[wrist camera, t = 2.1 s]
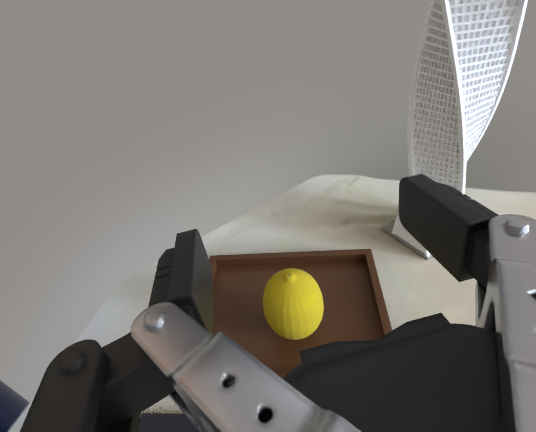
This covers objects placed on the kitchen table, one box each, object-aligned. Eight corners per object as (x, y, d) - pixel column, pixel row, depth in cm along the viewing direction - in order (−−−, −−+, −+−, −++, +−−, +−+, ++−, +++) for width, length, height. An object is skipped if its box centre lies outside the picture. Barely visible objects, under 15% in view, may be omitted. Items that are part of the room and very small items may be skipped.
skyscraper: (478, 241, 38) (589, -69, 21) (431, 271, 35) (514, -56, 19) (419, 209, 44) (469, -51, 27) (375, 233, 42) (400, -39, 25)
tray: (176, 389, 29) (171, 381, 28) (213, 263, 41) (210, 255, 40) (404, 393, 26) (406, 385, 25) (370, 257, 38) (370, 248, 37)
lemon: (322, 359, 29) (319, 304, 24) (263, 351, 30) (249, 298, 25) (326, 308, 33) (324, 253, 28) (274, 303, 34) (264, 250, 30)
